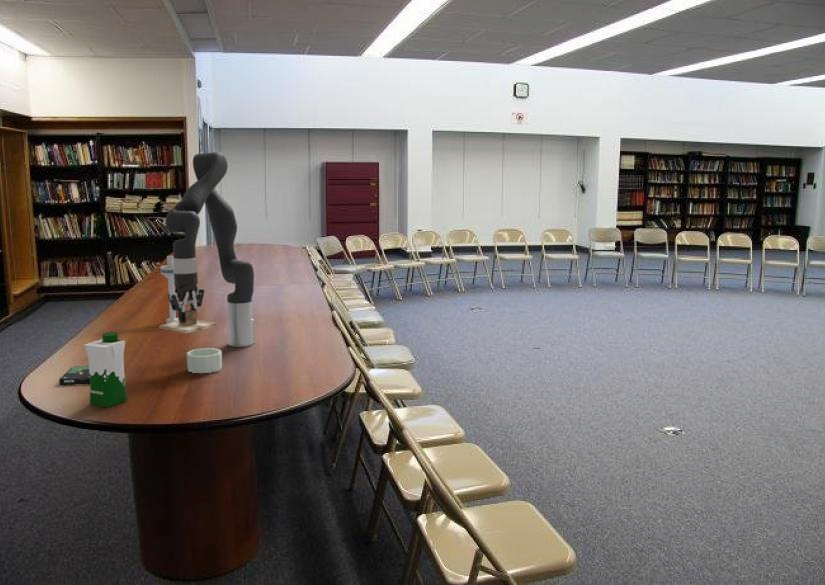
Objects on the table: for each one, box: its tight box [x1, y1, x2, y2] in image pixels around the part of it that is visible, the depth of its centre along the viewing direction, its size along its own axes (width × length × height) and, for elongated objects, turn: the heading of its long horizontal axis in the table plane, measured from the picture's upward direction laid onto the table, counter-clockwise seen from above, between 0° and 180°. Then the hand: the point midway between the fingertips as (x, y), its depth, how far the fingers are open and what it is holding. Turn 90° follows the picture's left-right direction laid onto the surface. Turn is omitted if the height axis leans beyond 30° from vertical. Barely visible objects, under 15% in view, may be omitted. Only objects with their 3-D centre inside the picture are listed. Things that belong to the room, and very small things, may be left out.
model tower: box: [160, 255, 179, 324], centre depth 296 cm, size 8×8×30 cm
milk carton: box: [84, 332, 128, 409], centre depth 192 cm, size 9×9×20 cm
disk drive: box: [58, 365, 90, 386], centre depth 216 cm, size 10×3×15 cm
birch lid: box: [158, 309, 217, 334], centre depth 225 cm, size 13×13×6 cm
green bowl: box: [186, 347, 223, 374], centre depth 228 cm, size 11×11×6 cm
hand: (187, 321), depth 225 cm, fingers closed on birch lid, 4 cm apart
